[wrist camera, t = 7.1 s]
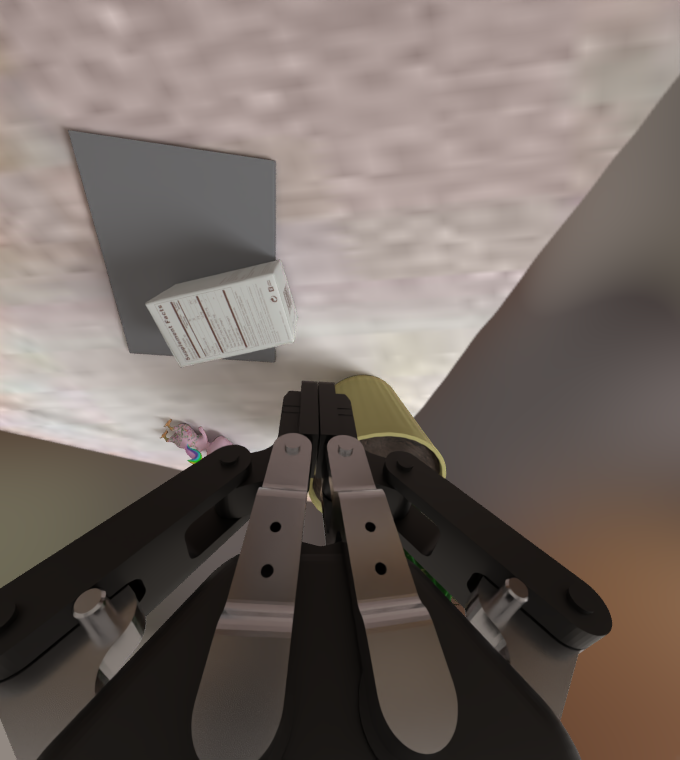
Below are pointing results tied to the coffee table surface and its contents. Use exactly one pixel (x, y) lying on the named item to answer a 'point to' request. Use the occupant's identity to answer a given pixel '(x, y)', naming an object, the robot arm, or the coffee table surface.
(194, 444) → the pink unicorn figurine
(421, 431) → the potted cactus
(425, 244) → the coffee table surface
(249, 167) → the mat
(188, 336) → the supplement box
